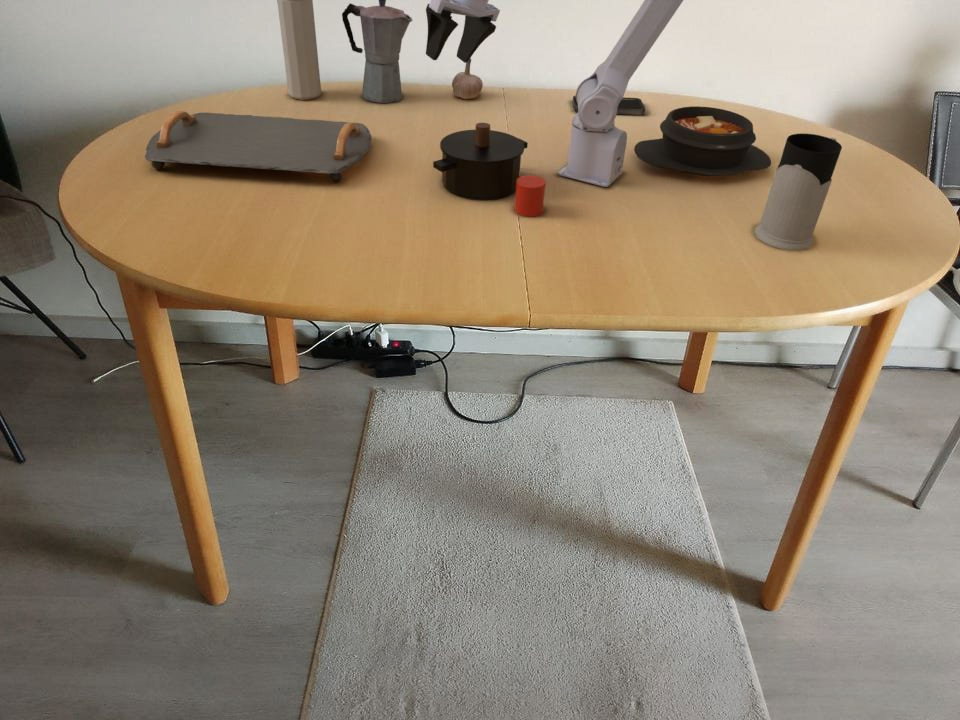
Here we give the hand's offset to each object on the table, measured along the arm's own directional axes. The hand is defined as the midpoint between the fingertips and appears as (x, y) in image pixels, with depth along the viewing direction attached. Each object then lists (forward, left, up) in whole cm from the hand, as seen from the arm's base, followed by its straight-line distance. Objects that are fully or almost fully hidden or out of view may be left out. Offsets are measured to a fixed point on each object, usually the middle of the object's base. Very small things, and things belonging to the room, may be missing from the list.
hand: (446, 58), depth 119 cm
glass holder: (-59, -9, -19) cm, 62 cm away
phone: (-13, -46, -18) cm, 51 cm away
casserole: (-39, -27, -19) cm, 51 cm away
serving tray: (+29, +15, -19) cm, 38 cm away
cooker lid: (-9, +3, -12) cm, 15 cm away
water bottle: (+45, -15, -19) cm, 51 cm away
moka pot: (+31, -23, -19) cm, 43 cm away
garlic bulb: (+16, -35, -19) cm, 43 cm away
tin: (-21, +8, -18) cm, 29 cm away
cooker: (-9, +3, -18) cm, 21 cm away
